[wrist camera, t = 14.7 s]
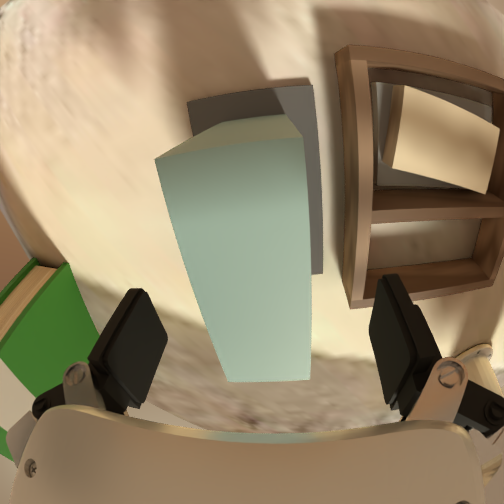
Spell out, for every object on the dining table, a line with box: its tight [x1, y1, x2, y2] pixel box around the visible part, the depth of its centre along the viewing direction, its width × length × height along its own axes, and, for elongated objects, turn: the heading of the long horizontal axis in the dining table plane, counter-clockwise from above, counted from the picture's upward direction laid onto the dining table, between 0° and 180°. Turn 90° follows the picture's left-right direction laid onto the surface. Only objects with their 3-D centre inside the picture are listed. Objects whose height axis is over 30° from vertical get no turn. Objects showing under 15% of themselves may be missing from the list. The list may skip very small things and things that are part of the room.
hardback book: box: [0, 258, 100, 462], centre depth 22 cm, size 18×7×24 cm, turn 178°
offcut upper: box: [382, 85, 500, 194], centre depth 15 cm, size 6×10×2 cm, turn 87°
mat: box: [187, 85, 323, 275], centre depth 21 cm, size 16×9×1 cm, turn 8°
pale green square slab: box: [155, 114, 312, 382], centre depth 16 cm, size 4×12×12 cm, turn 8°
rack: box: [334, 45, 504, 309], centre depth 17 cm, size 20×17×4 cm
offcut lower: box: [371, 82, 492, 189], centre depth 17 cm, size 8×12×2 cm, turn 96°
